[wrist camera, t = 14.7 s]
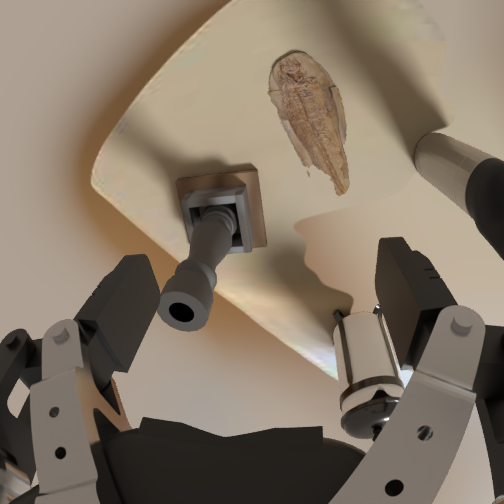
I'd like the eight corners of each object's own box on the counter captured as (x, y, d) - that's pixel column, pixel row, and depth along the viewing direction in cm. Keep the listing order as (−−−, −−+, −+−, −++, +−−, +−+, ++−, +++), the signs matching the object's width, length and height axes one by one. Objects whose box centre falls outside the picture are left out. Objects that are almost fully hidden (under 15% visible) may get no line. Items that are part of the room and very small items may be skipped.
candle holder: (218, 190, 49) (168, 278, 28) (247, 211, 51) (221, 311, 29) (198, 217, 52) (145, 312, 31) (227, 236, 54) (192, 341, 32)
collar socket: (257, 169, 48) (254, 180, 43) (266, 242, 55) (264, 261, 50) (178, 179, 50) (165, 191, 45) (194, 248, 57) (185, 266, 52)
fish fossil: (369, 186, 48) (370, 189, 47) (315, 204, 52) (315, 207, 51) (311, 45, 37) (311, 45, 36) (252, 69, 40) (250, 69, 39)
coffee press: (308, 329, 66) (313, 451, 40) (362, 288, 59) (396, 416, 33) (354, 359, 70) (368, 464, 45) (403, 324, 63) (438, 434, 38)
